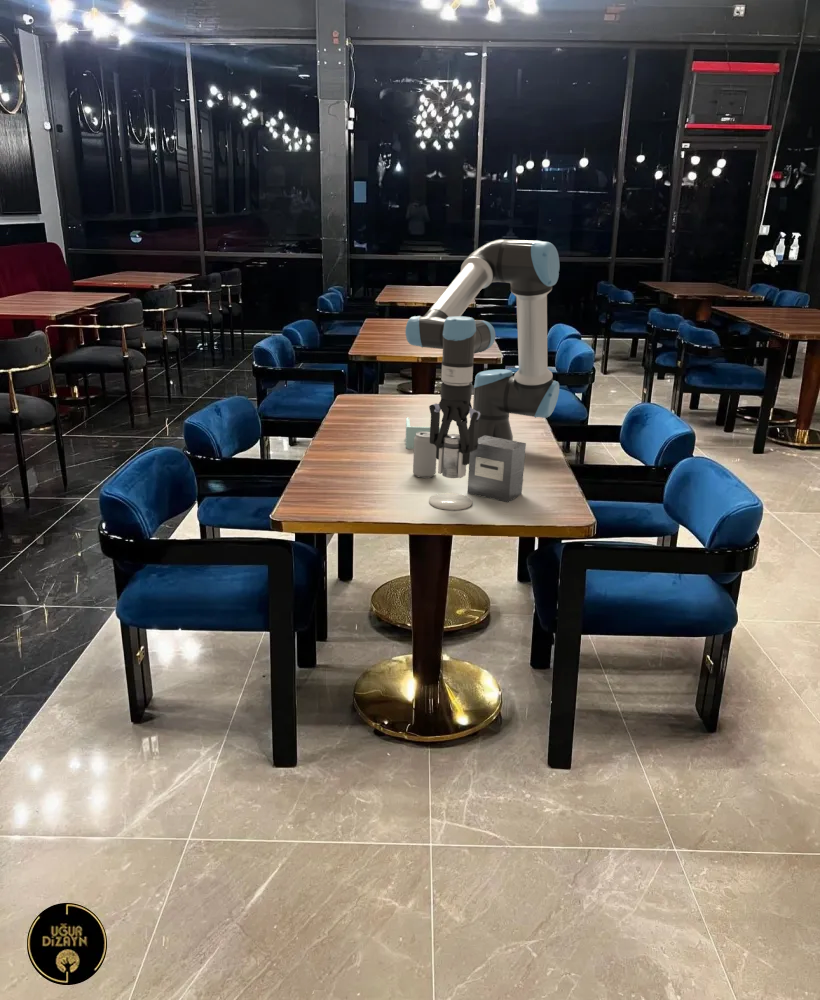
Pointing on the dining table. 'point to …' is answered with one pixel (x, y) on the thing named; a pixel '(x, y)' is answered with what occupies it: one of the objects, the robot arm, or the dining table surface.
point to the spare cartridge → (451, 455)
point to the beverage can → (424, 455)
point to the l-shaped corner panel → (413, 433)
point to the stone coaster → (450, 501)
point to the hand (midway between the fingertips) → (451, 474)
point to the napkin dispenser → (496, 469)
